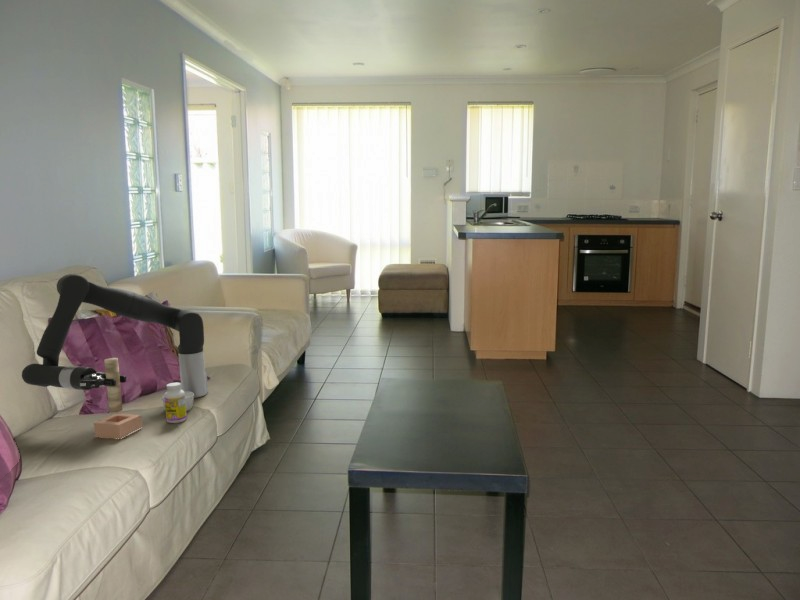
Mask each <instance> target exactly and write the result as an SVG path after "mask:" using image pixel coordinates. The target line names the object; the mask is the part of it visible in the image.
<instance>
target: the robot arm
mask: <svg viewBox="0 0 800 600" xmlns="http://www.w3.org/2000/svg"><path fill="white" fill-rule="evenodd" d="M56 290H57V293H58V295H59V298H58V302H57V306H56V308H55V310H54V313H53V315H52V317H51V319H50V320H49V321H48V324H47V325H46V328H45V329H44V331H43V334H42V336H41V338H40V341H39V344H38V346H37V348H36V355H37V356H38V357H40V358H42V364H41V363H31V364H27V365H26V366H25V367H24V368H23V369H22V372H21V379H22V380H23V382H24V383H25V384H27V385H31V386H37V387H44V388H47V387H50V386H51V387H55V388H65V389H69V390H76V391H77V390H79V391H89V390H92V389H100V387H103V388H104V387H107V386H116V380H115V379H106V372H102V371H96V369H95V368H94V367H91V366H77V365H76V366H75V365H73V366H65V365H63V366H61V365H59V363H60V362H59V361H60V355H61V352H62V350H63V348H64V345H65V341H66V339H67V336H68V333H69V331H70V328H71V325H72V323H73V320H74V319H75V316H76V314H77V312H78V310H79V309H80V307H81V305H82V304H84V303H85V304H89V305H92V306H97V307H99V308H102V309H104V310H105V311H109V312H110V313H113V314H117V315H119V316H121V317H125V318H128V319H132V320H136V321H140V322H146V323H155V324H159V325H163V326H165V327H168V328H169V329H170V328H171V329H172V330H175V331H177V332H178V333H179V336H178V337H179V343H178V344H179V345H177V354H178V364H179V376H180V383H181V390H183V391H190V392H193V393H194V398H193V399H196V398H201V397H204V396H206V395H207V394H208V392H209V389H208V387H209V386H208V377H207V376H208V375H207V368H206V365H205V356H204V344H205V330H204V329H205V328H204V321H203V318H202V316H201V315H200V314H199V313H198V312H196V311H194V310H193V311H192V310H190V309H183V308H178V307H173V306H170V305H165V304H163V303H161V302H159V301H157V300H155V299H153V298H151V297H148V296H146V295H142V294H141V293H140V294H139V293H136V292H133V291H129V290H124V289H120V288H114V287H109V286H103V285H100V284H97V283H95V282H92V281H89V280H88V279H87V278H86V277H85V276H83V275H81V274H77V273H76V274H75V273H69V274H68V273H67V274H65V275H63V276H62V277H60V278H59V279H58V280H57V282H56ZM119 375H120V384H121V383H122V384H123V383H124V384H125V383H127V376H126V375H122V374H121V373H120V372H119Z"/></svg>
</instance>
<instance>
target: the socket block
mask: <svg viewBox="0 0 800 600" xmlns="http://www.w3.org/2000/svg"><path fill="white" fill-rule="evenodd" d="M93 427H94V428H93V429H94V437H95V438H98V437H99V438H101V439H109V438H117V439H116V440H119V439H121V438H122V437H124V436H126V435H128V434H129V433H131V432H133V431H135V430H137V429H139V428H141V427H142V428H143V421H142V415H141V414H130V413H119V412H115V413H114V414H110V415H109V416H107V417H104V418H102V419H99V420H97V421H94V422H93ZM99 438H98V439H99ZM118 438H119V439H118ZM121 440H122V439H121Z"/></svg>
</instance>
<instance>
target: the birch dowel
mask: <svg viewBox="0 0 800 600" xmlns="http://www.w3.org/2000/svg"><path fill="white" fill-rule="evenodd" d="M103 361H104V369H105V372H104V373H106V379H115V380H116V386H106V392H107V403H108V413H119V412H121V411H123V401H122V390H121V389H122V388H121V382H120V375H121V374H120V375H119V373H120V365H119V358H118V357H108V358H104V360H103Z"/></svg>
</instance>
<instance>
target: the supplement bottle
mask: <svg viewBox="0 0 800 600" xmlns="http://www.w3.org/2000/svg"><path fill="white" fill-rule="evenodd" d="M166 390H167V391H166V392H165V393H164V394H163V395H164V398H165V408H164V411H165V417H166V418H165V420H166V423H169V424H178V423H182V422H184V421H186V420H187V418H188V415H187V411H186V403H185V393H184V391H183V390H182V389H181V382H178V381H177V382H176V381H175V382H169V383H168V384H166Z"/></svg>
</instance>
